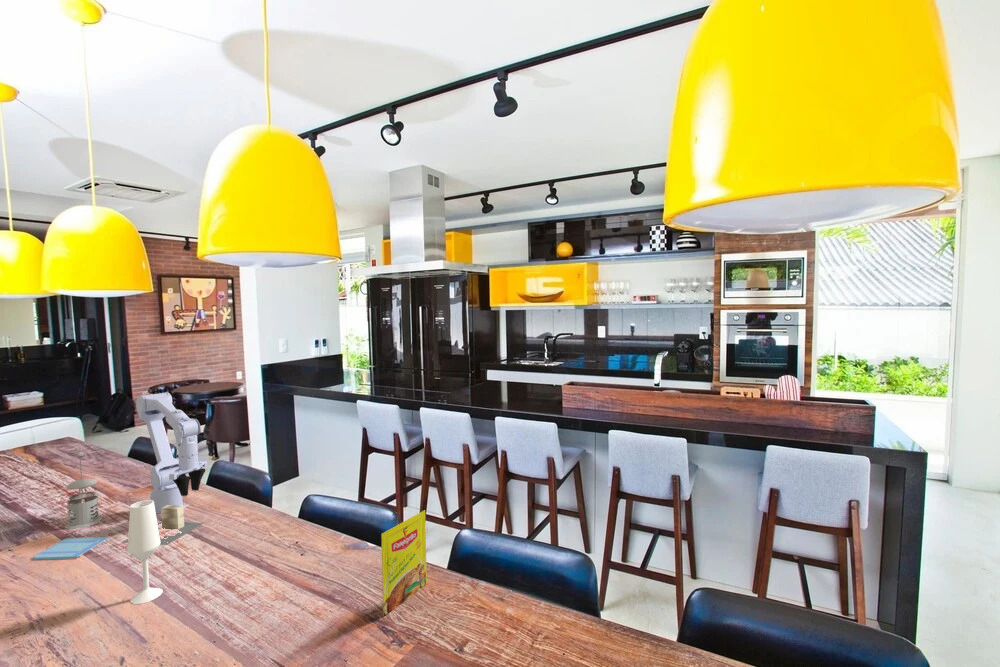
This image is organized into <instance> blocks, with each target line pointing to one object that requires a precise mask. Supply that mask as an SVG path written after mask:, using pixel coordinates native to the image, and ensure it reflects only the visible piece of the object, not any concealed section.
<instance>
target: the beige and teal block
mask: <svg viewBox="0 0 1000 667" xmlns="http://www.w3.org/2000/svg"><path fill="white" fill-rule="evenodd" d="M184 510H185V508H183V506H176V505H167V506H165V507H163V508H161V513H162V514H161V521H162V528H163V529H164V528H165V529H180V528H182V527H184V522H185V515H184V514H185V513H184V512H185V511H184Z"/></svg>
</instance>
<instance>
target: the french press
mask: <svg viewBox="0 0 1000 667" xmlns="http://www.w3.org/2000/svg"><path fill="white" fill-rule="evenodd" d="M82 456H84V452H82V451H78V452H77V453H76V457H79V463H80V464H79V467H80V468H79V469H80V479H76V480H74V481H72V482H70V483H69V484H68V485H66V486H65V488H66V489H68V490H78V491H79V492H78V493H75V494H72V495H70V496H69V497H68V500H69V501H68V502H67V505H66V506H67V520H68V521H67V522H68V523H66V525H65V526H64V528H65V529H67V530H77V529H76V528H78V529H83V528H82V527H84V528H87V527H89V526H90V525H91V526H93V525H95V523H96V524H98V523H100V522H101V521H102V520H103V517H101V516H100V514H99V505H98V504H99V502H98V501H99V499H98V495H96V494H97V492H96V491H87V488H89V487H93V486H95V485H96V484H97V483H98V480H96V479H93V478H83V476H82V475H83V474H82V458H81V457H82ZM83 490H85V492H84V491H83ZM82 500H84V502H82ZM101 519H102V520H101ZM100 520H101V521H100ZM99 521H100V522H99ZM97 522H98V523H97ZM86 526H87V527H86ZM91 526H90V527H91Z"/></svg>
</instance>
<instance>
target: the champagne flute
mask: <svg viewBox="0 0 1000 667" xmlns="http://www.w3.org/2000/svg"><path fill="white" fill-rule="evenodd" d="M129 508H130V509H129V520H128V521H129V523H128V533H127V534H128V535H127V539H128V543H127V553H128V554H129V555H130V556H131V557H133V558H135V559H137V560H141V564H142V583H143V584H142V585H143V587H142V588H143V589H141V590H140V591H139V592H137V593H136V594H135V595H133V596H132V597H131V598H130V600H129V602H130V604H134V605H139V604H145V603H149V602H151V601H153V600H156V598H159V596H161V595H162V594H163V592H164V591H163V589H162V588H161V587H160V588H158V587H150V576H149V575H150V574H149V558H150V557H152V555H154V553H156V552H157V550H158V549H159V547H160V546H161V545H160V543H161V541H160V535H159V529H158V523H159V522H158V519H157V517H158V516H157V513H156V511H155V506H154V501H153V500H150V499H146V500H145V499H144V500H141V501H137V502H134V503H132V504H130V506H129Z"/></svg>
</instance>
